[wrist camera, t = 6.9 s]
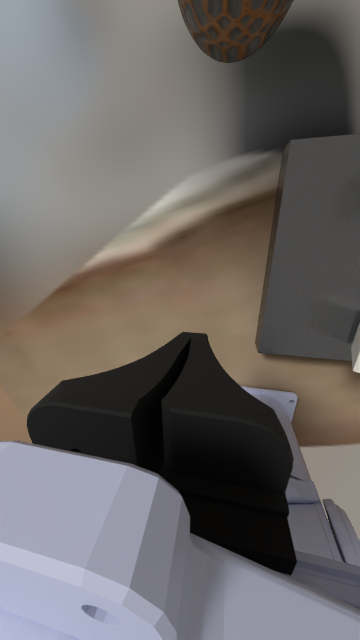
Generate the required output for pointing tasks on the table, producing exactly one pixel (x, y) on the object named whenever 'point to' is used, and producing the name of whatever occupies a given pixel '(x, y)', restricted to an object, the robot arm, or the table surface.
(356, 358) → the small grey block
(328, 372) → the table surface
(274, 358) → the table surface
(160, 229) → the table surface
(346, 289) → the panel
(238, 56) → the vase
